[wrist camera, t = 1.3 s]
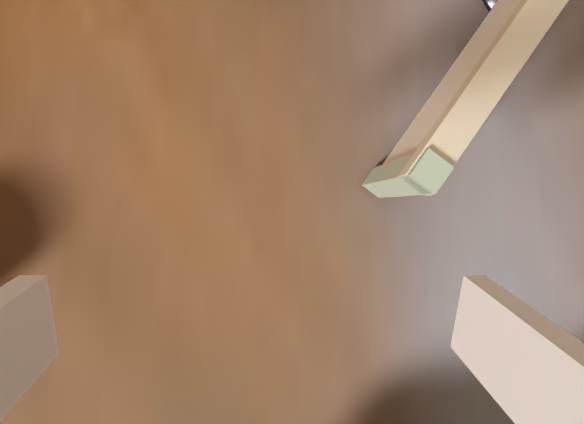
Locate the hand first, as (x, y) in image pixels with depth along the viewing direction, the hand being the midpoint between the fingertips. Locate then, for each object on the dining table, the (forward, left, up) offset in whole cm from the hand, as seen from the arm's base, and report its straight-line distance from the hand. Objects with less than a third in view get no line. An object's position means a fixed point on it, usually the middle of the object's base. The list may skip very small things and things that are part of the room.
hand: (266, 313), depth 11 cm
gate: (-3, -22, -20) cm, 30 cm away
